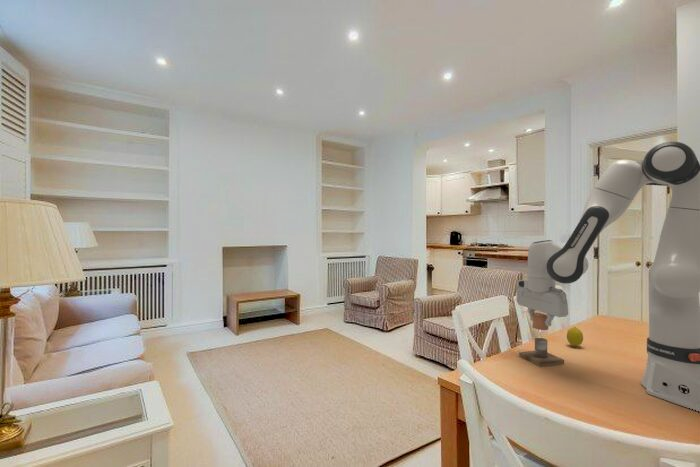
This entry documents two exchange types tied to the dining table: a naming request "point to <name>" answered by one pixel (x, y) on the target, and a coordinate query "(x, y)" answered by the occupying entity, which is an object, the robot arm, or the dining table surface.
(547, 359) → the stud base
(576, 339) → the lemon
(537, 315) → the cap
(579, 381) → the dining table surface
